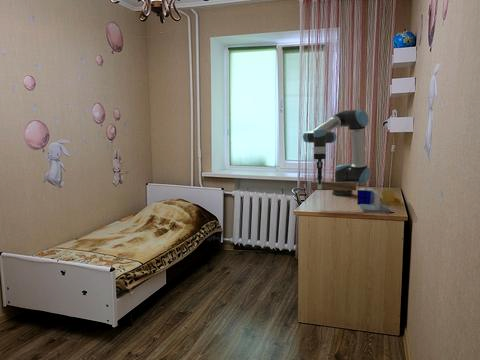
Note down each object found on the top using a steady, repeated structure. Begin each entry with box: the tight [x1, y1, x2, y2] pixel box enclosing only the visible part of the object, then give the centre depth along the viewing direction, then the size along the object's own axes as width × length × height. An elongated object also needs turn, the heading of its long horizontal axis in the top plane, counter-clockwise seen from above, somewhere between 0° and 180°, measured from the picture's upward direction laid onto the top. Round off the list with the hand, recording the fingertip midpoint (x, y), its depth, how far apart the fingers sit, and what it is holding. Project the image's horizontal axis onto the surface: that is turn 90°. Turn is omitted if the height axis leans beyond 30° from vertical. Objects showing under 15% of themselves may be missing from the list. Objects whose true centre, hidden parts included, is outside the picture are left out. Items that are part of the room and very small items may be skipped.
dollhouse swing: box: [380, 189, 402, 206], centre depth 276 cm, size 10×10×9 cm
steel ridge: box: [370, 188, 381, 210], centre depth 258 cm, size 18×3×10 cm, turn 170°
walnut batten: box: [311, 181, 357, 191], centre depth 263 cm, size 4×28×5 cm, turn 80°
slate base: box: [359, 203, 391, 214], centre depth 259 cm, size 18×16×2 cm
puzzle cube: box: [356, 187, 372, 205], centre depth 277 cm, size 10×10×10 cm
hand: (319, 188), depth 265 cm, fingers closed on walnut batten, 3 cm apart
